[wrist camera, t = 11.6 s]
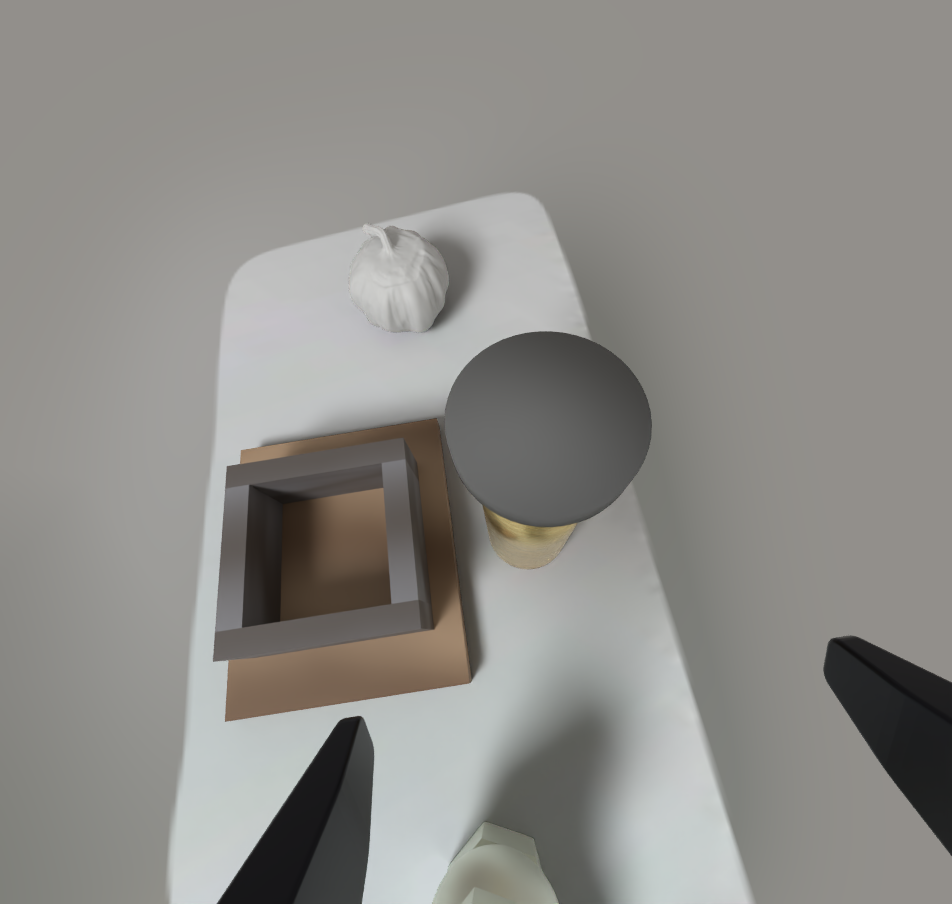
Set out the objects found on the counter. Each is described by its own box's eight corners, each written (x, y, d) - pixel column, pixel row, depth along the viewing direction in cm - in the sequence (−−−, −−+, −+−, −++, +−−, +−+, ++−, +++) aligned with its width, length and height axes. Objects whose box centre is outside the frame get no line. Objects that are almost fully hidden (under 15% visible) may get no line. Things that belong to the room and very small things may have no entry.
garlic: (351, 287, 28) (318, 214, 23) (435, 259, 28) (419, 181, 23) (377, 364, 25) (345, 301, 21) (467, 333, 26) (457, 263, 21)
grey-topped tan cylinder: (586, 571, 20) (679, 497, 9) (485, 588, 20) (458, 532, 9) (564, 476, 22) (620, 317, 11) (471, 491, 22) (433, 348, 11)
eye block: (471, 680, 19) (462, 692, 15) (238, 717, 19) (173, 737, 15) (439, 426, 24) (426, 388, 20) (251, 457, 24) (203, 424, 20)
